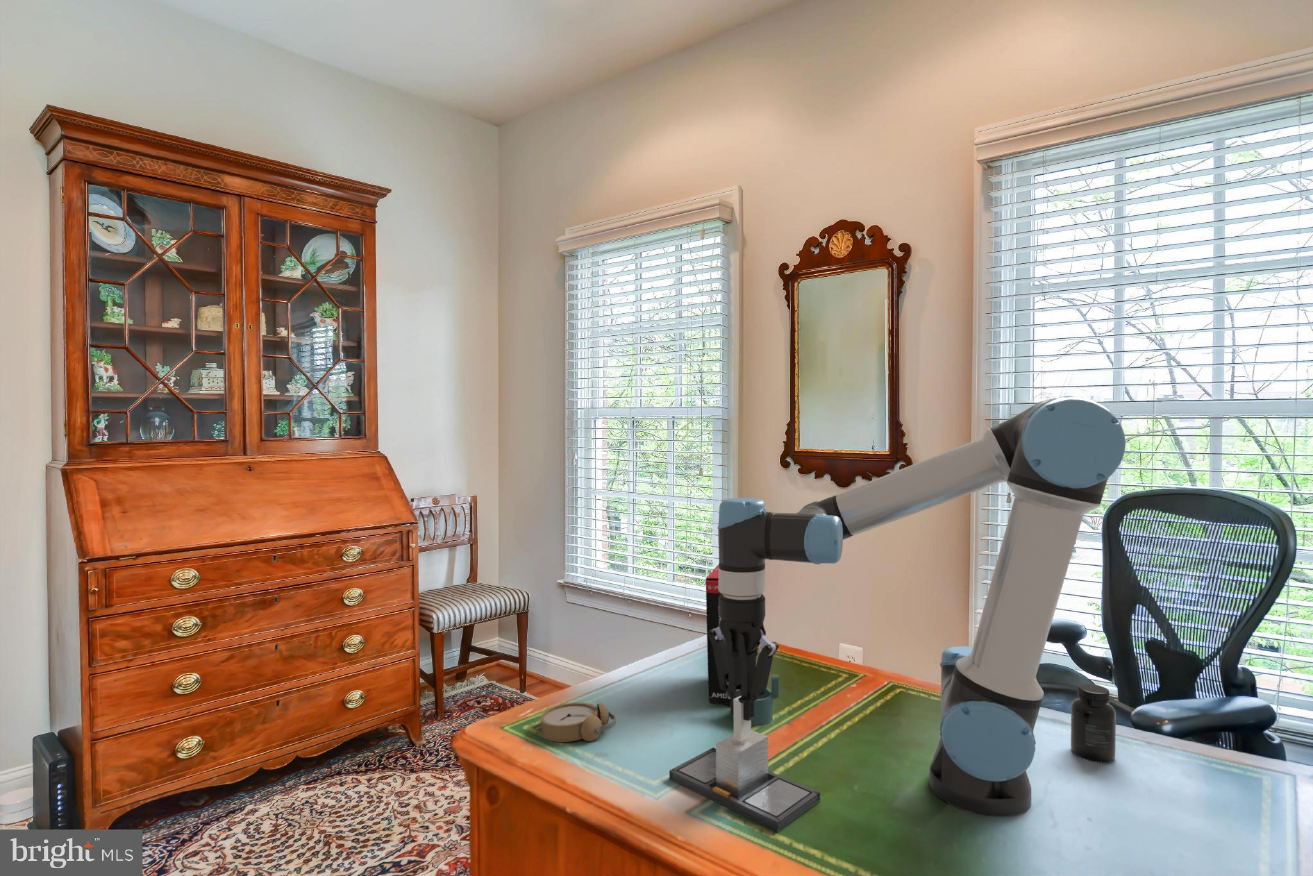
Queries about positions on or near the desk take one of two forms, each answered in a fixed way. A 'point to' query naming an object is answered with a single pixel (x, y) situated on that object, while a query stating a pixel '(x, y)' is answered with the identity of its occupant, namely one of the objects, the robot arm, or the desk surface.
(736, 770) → the grey metallic block
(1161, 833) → the desk surface
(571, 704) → the alarm clock
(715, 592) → the graphics card box
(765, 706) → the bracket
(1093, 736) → the supplement bottle
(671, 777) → the frame
